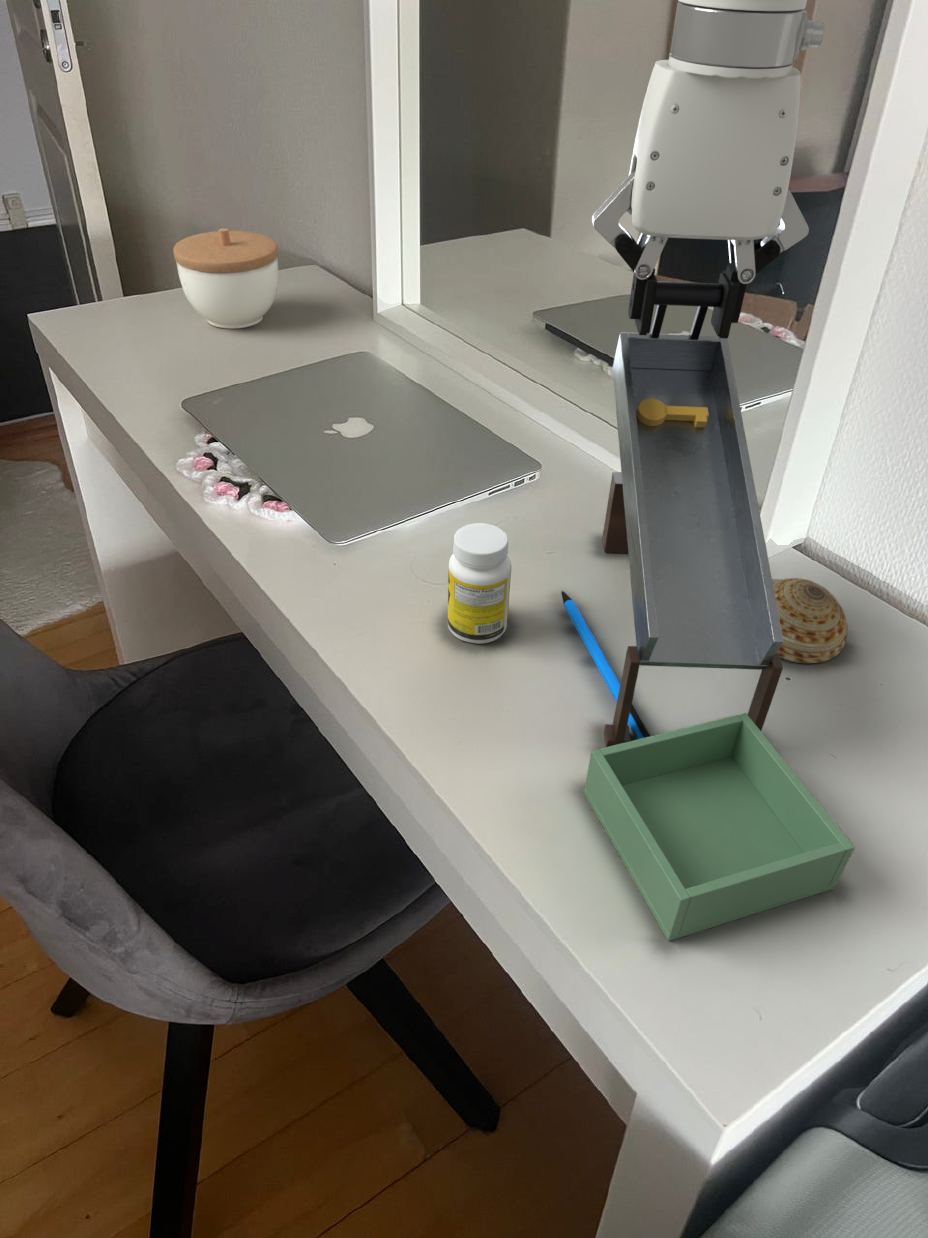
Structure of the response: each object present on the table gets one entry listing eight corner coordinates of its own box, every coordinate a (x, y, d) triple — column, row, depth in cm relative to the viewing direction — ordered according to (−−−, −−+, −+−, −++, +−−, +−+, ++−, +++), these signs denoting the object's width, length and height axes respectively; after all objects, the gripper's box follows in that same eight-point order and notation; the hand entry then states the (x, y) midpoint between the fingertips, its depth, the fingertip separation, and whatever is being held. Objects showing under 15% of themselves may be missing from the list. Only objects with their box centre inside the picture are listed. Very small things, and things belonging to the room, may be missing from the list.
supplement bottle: (462, 600, 74) (466, 513, 69) (516, 617, 73) (524, 529, 67) (436, 634, 71) (438, 545, 65) (492, 653, 69) (498, 563, 64)
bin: (732, 753, 62) (746, 712, 60) (834, 888, 54) (855, 847, 52) (583, 792, 59) (590, 750, 57) (668, 941, 51) (681, 900, 48)
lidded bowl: (206, 344, 112) (192, 252, 105) (170, 310, 120) (155, 222, 113) (300, 325, 117) (293, 236, 110) (260, 294, 125) (251, 209, 118)
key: (637, 425, 68) (639, 419, 68) (635, 404, 70) (637, 397, 69) (707, 428, 68) (710, 422, 68) (704, 407, 70) (707, 400, 69)
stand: (576, 539, 82) (586, 460, 77) (694, 543, 82) (712, 464, 77) (606, 749, 62) (622, 662, 57) (761, 754, 62) (791, 667, 57)
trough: (611, 363, 73) (630, 275, 66) (714, 367, 73) (744, 279, 66) (637, 665, 58) (665, 594, 51) (765, 670, 58) (811, 599, 51)
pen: (649, 768, 61) (652, 756, 60) (556, 596, 75) (557, 585, 74) (662, 766, 61) (664, 754, 60) (566, 594, 75) (567, 583, 74)
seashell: (801, 561, 76) (870, 582, 69) (800, 625, 78) (867, 653, 71) (716, 578, 74) (778, 601, 67) (717, 643, 76) (777, 673, 68)
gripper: (853, 38, 59) (782, 315, 70) (589, 27, 59) (561, 306, 70) (893, 56, 53) (808, 355, 65) (600, 44, 53) (568, 345, 65)
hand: (680, 327), depth 67 cm, fingers closed on trough, 5 cm apart
